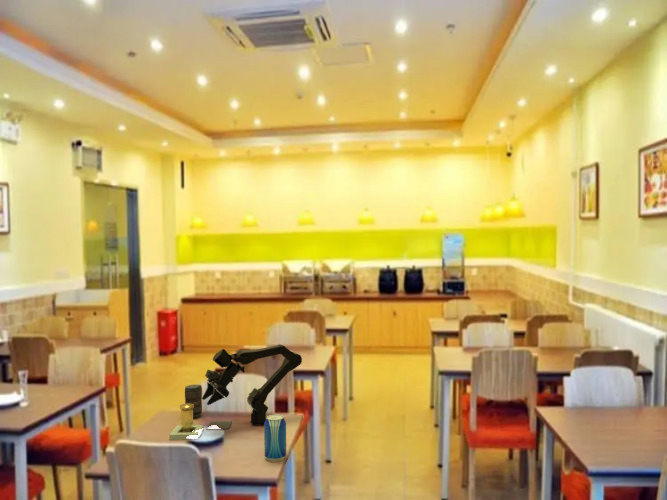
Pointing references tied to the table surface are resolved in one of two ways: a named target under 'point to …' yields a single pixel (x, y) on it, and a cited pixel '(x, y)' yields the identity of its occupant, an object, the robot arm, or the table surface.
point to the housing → (179, 435)
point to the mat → (221, 424)
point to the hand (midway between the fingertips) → (205, 401)
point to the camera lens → (194, 399)
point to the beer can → (275, 438)
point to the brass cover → (187, 417)
